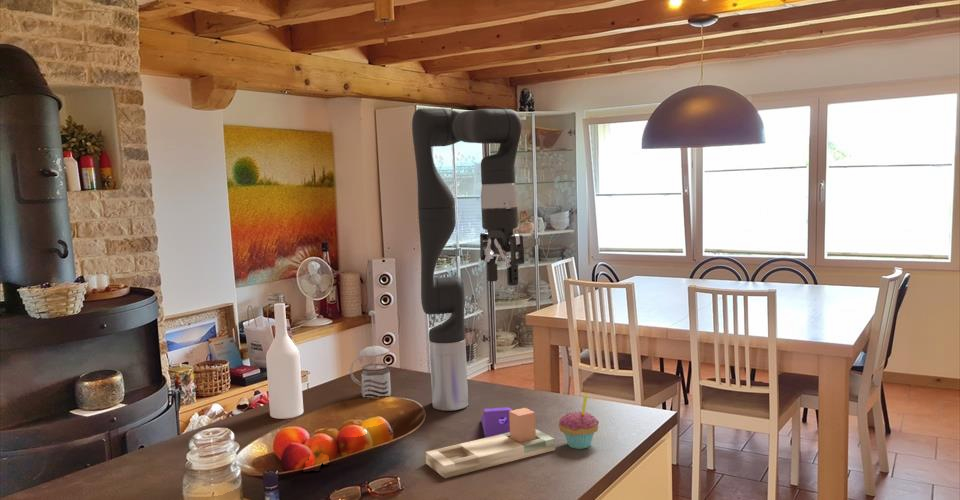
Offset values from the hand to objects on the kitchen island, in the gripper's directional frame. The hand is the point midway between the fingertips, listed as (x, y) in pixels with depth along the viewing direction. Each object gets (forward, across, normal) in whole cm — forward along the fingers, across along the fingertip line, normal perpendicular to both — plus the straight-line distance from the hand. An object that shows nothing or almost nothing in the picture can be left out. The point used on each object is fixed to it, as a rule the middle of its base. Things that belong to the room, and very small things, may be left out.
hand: (502, 283), depth 146 cm
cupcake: (+36, +6, +14) cm, 39 cm away
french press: (+36, -52, -12) cm, 65 cm away
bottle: (+36, -49, -36) cm, 71 cm away
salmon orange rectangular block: (+35, +1, +3) cm, 35 cm away
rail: (+36, +1, -5) cm, 36 cm away
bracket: (+37, -12, +4) cm, 39 cm away
